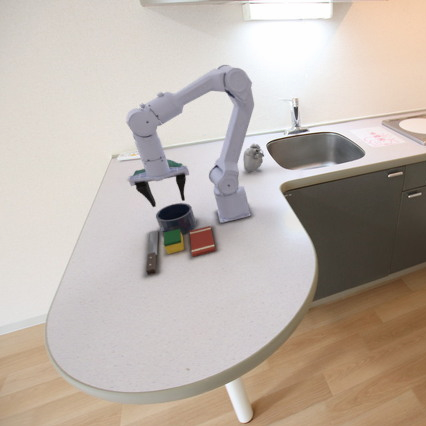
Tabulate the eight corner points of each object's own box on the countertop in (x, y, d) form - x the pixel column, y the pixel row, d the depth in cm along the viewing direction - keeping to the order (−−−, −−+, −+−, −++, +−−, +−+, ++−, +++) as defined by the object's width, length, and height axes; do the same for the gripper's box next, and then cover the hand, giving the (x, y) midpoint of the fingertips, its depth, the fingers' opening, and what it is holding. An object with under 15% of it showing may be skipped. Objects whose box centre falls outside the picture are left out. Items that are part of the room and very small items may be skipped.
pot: (195, 215, 101) (190, 200, 98) (197, 231, 93) (192, 215, 90) (161, 222, 98) (156, 207, 95) (161, 239, 90) (155, 224, 87)
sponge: (183, 238, 91) (179, 228, 89) (183, 250, 86) (180, 240, 84) (167, 241, 89) (164, 232, 87) (167, 254, 85) (163, 244, 83)
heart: (252, 162, 135) (245, 137, 127) (270, 165, 131) (264, 140, 123) (239, 175, 129) (229, 149, 121) (257, 178, 125) (249, 153, 117)
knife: (158, 231, 94) (156, 227, 93) (156, 272, 78) (154, 268, 78) (150, 233, 93) (148, 229, 92) (147, 275, 78) (145, 271, 77)
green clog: (132, 172, 131) (128, 160, 129) (183, 164, 138) (180, 153, 135) (131, 181, 124) (127, 169, 121) (184, 173, 131) (181, 161, 128)
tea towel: (210, 227, 94) (210, 225, 94) (215, 250, 85) (214, 248, 85) (190, 232, 93) (189, 230, 92) (192, 256, 83) (191, 254, 83)
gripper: (120, 168, 75) (139, 215, 82) (183, 157, 79) (196, 202, 87) (123, 158, 80) (141, 203, 88) (182, 148, 85) (195, 192, 92)
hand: (169, 202), depth 88 cm, fingers open, 7 cm apart
